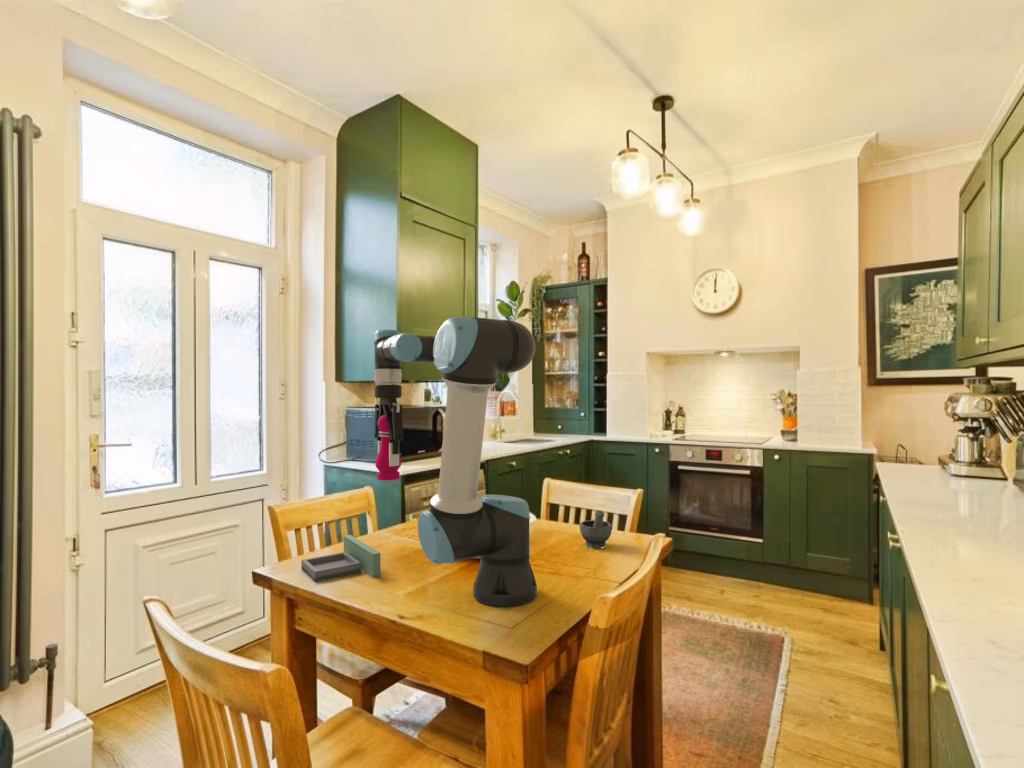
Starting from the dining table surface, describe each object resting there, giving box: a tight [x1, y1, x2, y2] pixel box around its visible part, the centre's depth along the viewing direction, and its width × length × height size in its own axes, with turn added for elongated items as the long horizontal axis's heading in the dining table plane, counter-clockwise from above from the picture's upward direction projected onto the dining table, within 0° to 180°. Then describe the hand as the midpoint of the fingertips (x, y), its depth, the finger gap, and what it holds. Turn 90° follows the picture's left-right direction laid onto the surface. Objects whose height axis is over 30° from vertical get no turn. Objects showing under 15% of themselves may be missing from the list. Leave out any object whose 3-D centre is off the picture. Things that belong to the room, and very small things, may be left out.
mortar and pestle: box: [579, 510, 613, 548], centre depth 165 cm, size 11×9×12 cm
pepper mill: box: [374, 415, 402, 481], centre depth 153 cm, size 7×7×20 cm
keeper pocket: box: [300, 551, 362, 582], centre depth 144 cm, size 12×12×2 cm
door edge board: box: [343, 534, 381, 578], centre depth 148 cm, size 22×2×6 cm, turn 37°
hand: (388, 464), depth 153 cm, fingers closed on pepper mill, 7 cm apart
